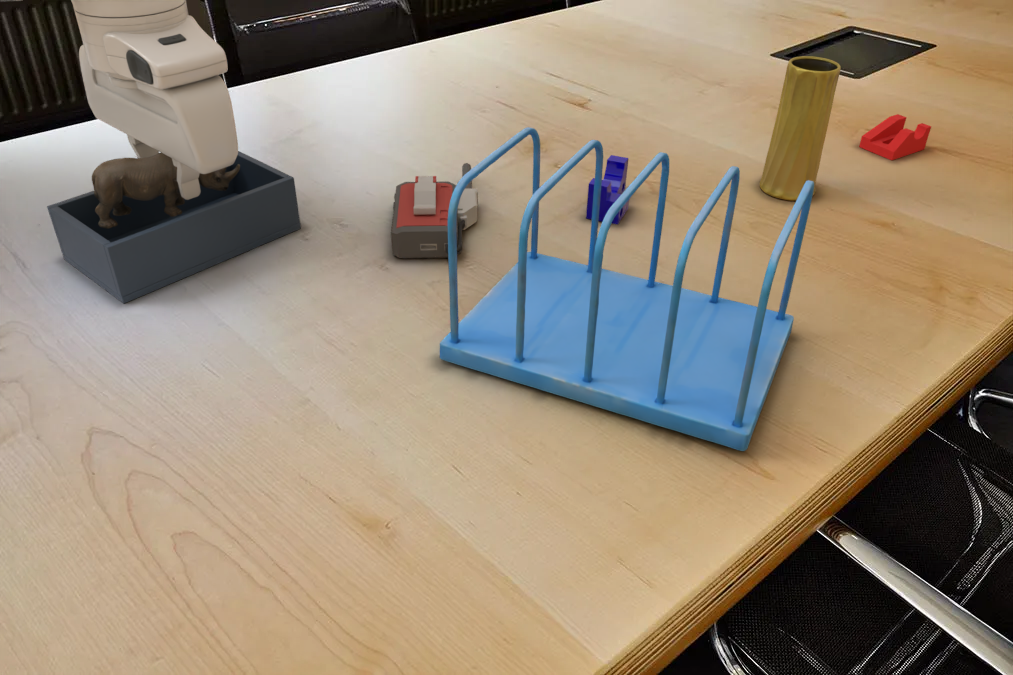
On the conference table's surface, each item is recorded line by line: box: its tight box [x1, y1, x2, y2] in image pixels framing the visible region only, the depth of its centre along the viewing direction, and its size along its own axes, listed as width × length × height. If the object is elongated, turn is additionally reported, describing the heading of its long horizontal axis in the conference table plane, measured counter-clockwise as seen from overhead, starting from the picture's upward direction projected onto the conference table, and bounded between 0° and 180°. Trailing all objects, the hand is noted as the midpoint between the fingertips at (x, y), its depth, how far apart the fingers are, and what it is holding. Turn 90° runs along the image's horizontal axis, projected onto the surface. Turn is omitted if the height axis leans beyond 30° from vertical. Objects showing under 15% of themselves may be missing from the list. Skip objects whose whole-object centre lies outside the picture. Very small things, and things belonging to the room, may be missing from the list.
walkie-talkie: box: [390, 162, 479, 259], centre depth 89 cm, size 9×4×20 cm
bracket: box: [858, 113, 932, 161], centre depth 106 cm, size 6×5×3 cm
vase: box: [759, 55, 841, 202], centre depth 93 cm, size 6×6×14 cm
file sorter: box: [439, 126, 814, 452], centre depth 67 cm, size 25×17×15 cm
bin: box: [46, 150, 302, 304], centre depth 83 cm, size 11×19×6 cm, turn 138°
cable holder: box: [585, 154, 630, 226], centre depth 92 cm, size 8×4×4 cm, turn 158°
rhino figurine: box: [91, 152, 240, 229], centre depth 81 cm, size 4×14×6 cm, turn 118°
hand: (172, 186), depth 81 cm, fingers closed on rhino figurine, 4 cm apart
